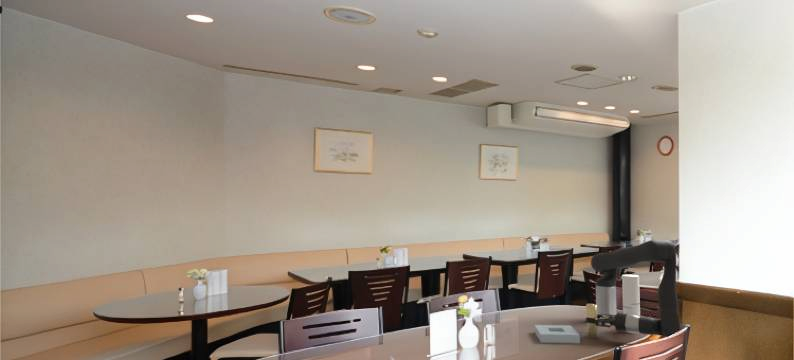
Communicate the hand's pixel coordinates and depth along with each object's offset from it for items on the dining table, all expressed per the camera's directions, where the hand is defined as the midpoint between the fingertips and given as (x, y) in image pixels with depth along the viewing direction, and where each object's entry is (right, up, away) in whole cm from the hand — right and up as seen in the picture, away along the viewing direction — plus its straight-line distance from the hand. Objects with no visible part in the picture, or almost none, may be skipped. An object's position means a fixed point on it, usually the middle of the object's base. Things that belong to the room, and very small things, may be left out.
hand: (588, 318), depth 224 cm
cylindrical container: (+23, -8, +10) cm, 27 cm away
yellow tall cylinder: (+1, -8, -1) cm, 8 cm away
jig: (-15, -8, -2) cm, 17 cm away
